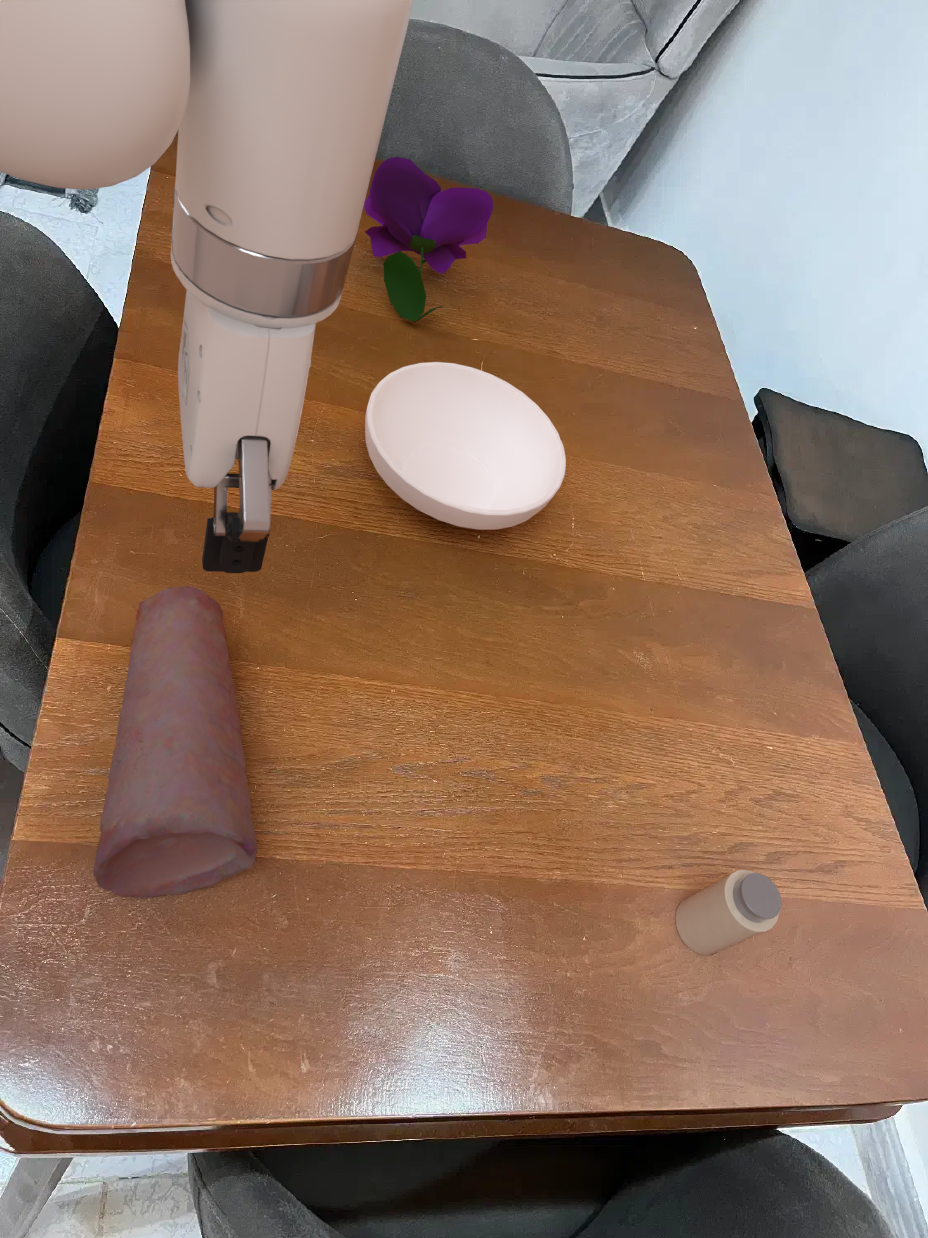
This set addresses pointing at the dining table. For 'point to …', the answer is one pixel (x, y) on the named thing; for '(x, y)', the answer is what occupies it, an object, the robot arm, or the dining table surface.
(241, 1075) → the dining table surface
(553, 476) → the bowl
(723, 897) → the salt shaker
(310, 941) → the dining table surface
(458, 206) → the flower
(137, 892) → the brown tapered cylinder
